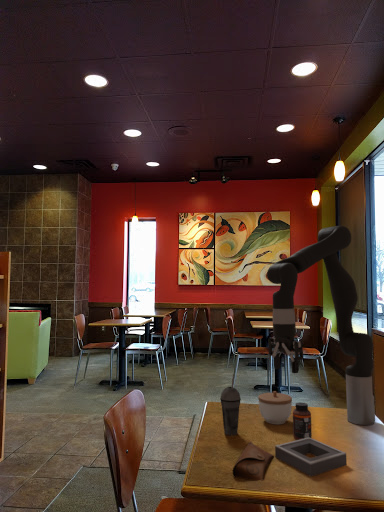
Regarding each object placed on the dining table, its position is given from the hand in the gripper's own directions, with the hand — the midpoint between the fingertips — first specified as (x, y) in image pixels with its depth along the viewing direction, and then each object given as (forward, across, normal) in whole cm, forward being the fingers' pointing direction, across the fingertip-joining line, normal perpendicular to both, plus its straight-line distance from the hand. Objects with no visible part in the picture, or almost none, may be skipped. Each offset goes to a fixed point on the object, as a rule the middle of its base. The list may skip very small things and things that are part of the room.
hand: (285, 370), depth 130 cm
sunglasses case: (+23, -9, +22) cm, 33 cm away
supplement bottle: (+23, -1, -5) cm, 24 cm away
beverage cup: (+22, +15, +13) cm, 30 cm away
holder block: (+22, -15, +6) cm, 28 cm away
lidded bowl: (+23, +17, -9) cm, 30 cm away
